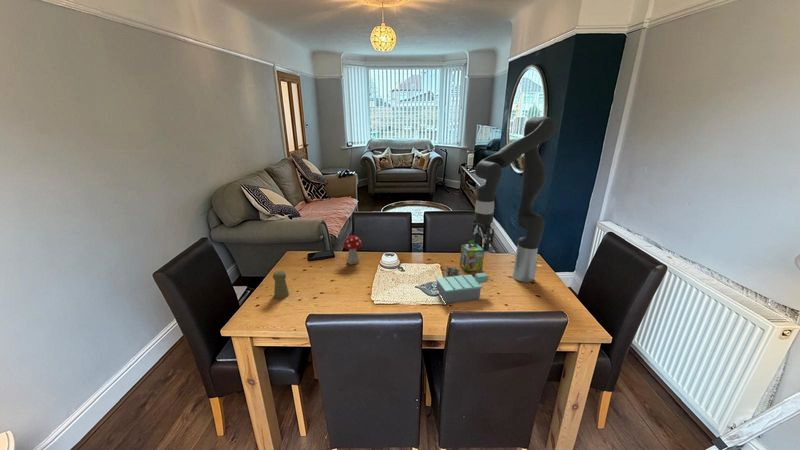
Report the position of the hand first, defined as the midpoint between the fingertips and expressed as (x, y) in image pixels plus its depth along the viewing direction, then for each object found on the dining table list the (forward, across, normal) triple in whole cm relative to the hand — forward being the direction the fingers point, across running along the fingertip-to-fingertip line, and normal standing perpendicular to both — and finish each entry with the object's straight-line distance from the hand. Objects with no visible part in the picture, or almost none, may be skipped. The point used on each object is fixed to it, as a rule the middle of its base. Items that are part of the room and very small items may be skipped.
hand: (480, 246), depth 139 cm
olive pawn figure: (+21, +15, +84) cm, 88 cm away
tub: (+22, -1, +10) cm, 24 cm away
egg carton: (+23, +15, +5) cm, 28 cm away
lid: (+16, -1, +7) cm, 18 cm away
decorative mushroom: (+22, +42, +51) cm, 69 cm away
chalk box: (+23, +24, -8) cm, 34 cm away
